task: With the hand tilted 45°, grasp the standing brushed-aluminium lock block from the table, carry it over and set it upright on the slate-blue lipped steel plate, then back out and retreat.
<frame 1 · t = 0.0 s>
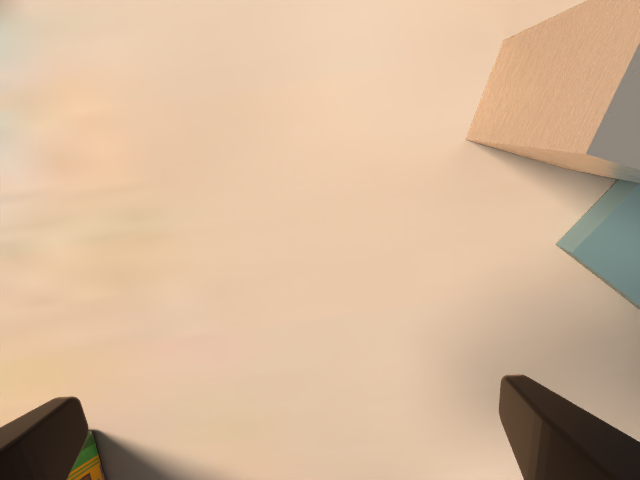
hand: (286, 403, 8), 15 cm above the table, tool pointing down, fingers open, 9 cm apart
aluminium lock block: (537, 107, 20), on the table
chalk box: (51, 472, 29), on the table
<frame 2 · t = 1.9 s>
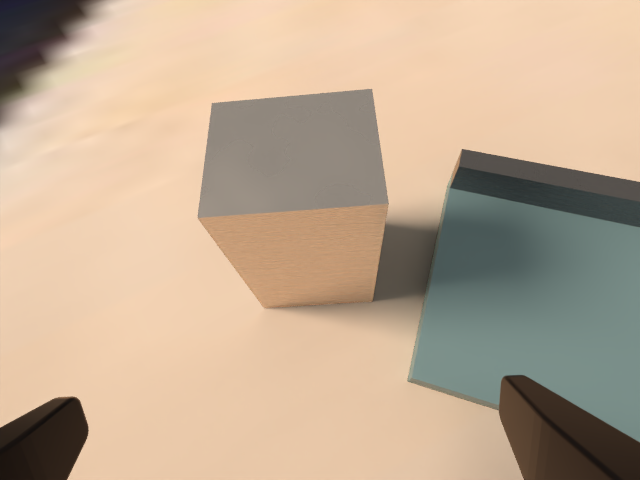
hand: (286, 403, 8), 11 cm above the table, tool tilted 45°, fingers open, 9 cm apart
lipped steel plate: (544, 301, 20), on the table
aluminium lock block: (316, 263, 22), on the table
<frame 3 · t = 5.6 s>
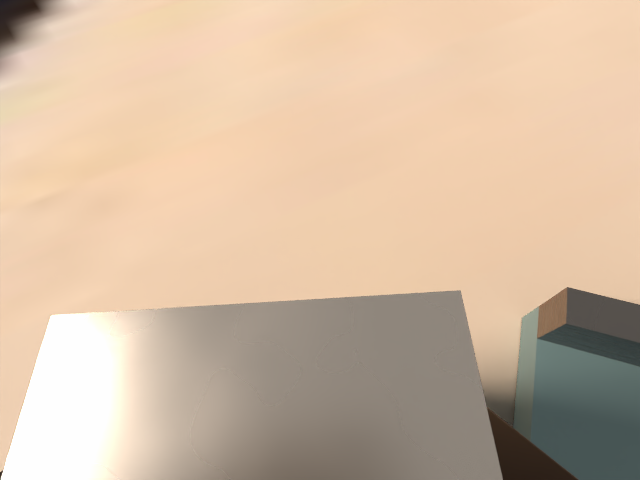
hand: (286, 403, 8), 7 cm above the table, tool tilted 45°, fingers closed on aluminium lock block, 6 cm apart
aluminium lock block: (315, 459, 13), on the table, touching gripper
when the fingers open (9 cm above the table, at t = 9.7 s): aluminium lock block drops 1 cm, resting on lipped steel plate.
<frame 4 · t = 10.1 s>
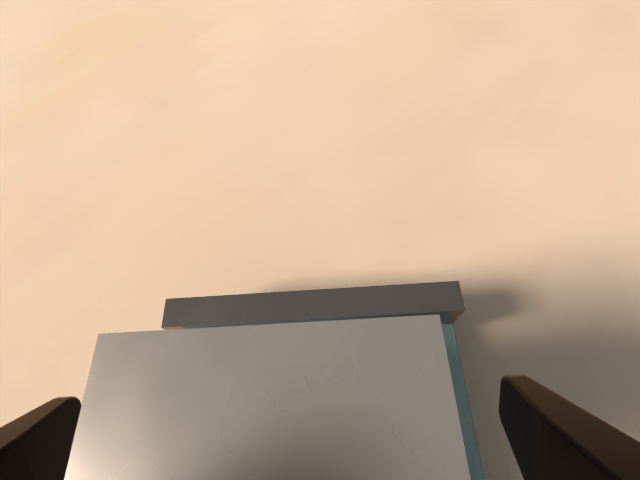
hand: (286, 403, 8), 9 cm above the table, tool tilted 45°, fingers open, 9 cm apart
lipped steel plate: (321, 455, 15), on the table
aluminium lock block: (317, 456, 14), point 1 cm above the table, touching lipped steel plate
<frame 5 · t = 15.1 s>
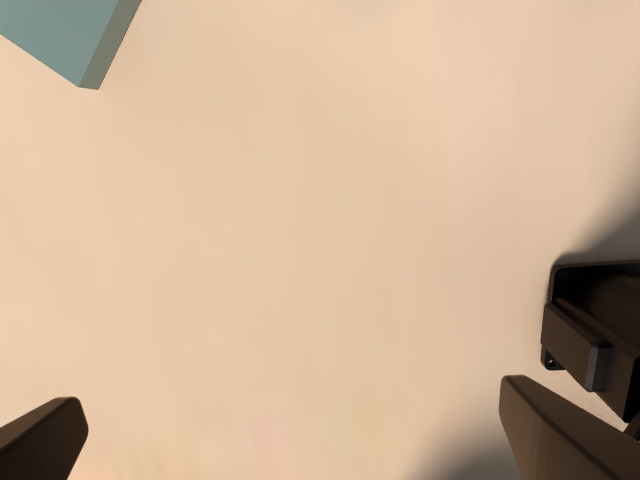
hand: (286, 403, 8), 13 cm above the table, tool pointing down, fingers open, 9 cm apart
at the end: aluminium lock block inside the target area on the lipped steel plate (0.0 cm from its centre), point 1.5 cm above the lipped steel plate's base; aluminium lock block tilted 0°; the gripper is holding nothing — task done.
